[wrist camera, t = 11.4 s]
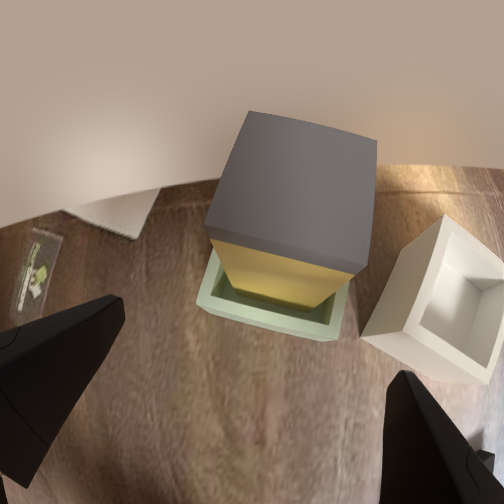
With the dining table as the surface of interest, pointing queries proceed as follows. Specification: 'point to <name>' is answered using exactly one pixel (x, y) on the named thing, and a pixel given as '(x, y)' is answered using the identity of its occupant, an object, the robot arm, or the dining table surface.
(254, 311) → the lower socket
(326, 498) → the dining table surface
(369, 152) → the plug
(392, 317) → the upper socket
